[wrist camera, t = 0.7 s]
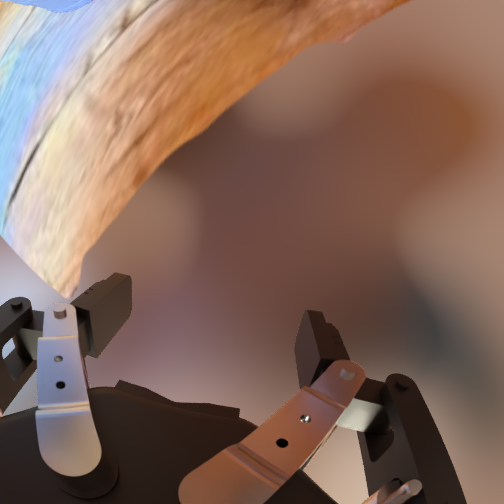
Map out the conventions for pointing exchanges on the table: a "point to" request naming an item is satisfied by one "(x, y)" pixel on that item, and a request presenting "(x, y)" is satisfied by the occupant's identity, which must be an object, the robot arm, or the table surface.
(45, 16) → the table surface
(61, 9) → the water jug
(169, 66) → the table surface
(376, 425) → the robot arm
